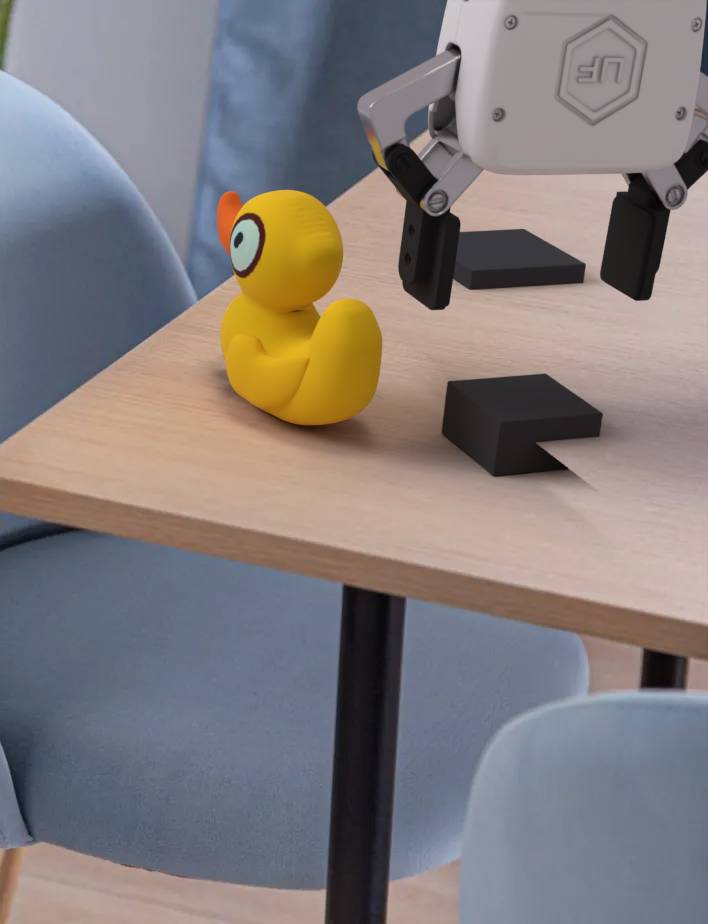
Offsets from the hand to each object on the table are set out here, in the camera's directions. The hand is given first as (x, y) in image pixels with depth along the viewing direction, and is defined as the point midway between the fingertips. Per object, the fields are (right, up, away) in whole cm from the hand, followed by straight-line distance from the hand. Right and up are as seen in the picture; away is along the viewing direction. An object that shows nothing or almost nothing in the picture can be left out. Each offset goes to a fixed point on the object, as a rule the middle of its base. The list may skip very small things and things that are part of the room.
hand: (526, 295), depth 75 cm
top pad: (0, -6, +3) cm, 7 cm away
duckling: (-10, -5, +6) cm, 12 cm away
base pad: (+3, +3, +24) cm, 24 cm away
